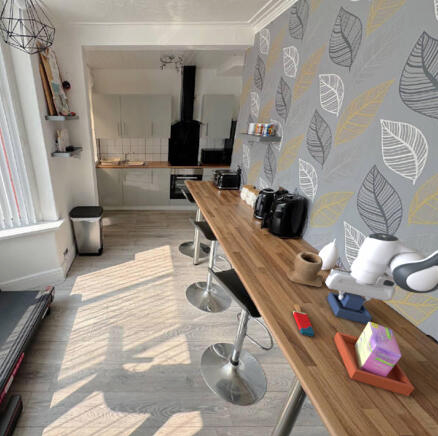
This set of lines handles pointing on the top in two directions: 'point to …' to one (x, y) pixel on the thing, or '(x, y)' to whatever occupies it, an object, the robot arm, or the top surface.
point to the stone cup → (307, 269)
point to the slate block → (352, 301)
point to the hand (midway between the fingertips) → (350, 301)
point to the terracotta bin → (391, 382)
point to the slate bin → (348, 310)
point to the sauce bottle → (329, 256)
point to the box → (377, 350)
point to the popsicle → (303, 322)
